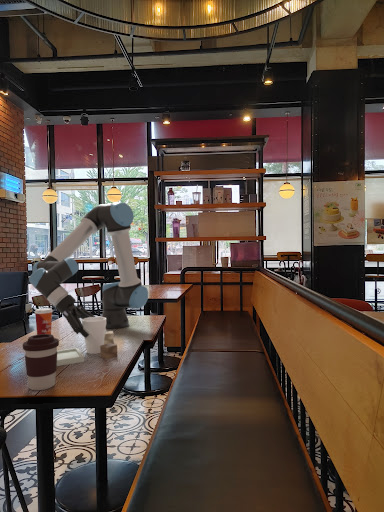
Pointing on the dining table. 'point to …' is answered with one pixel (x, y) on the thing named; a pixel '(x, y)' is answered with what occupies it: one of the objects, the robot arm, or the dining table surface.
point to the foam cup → (95, 332)
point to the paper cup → (43, 320)
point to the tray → (69, 356)
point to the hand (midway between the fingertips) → (100, 337)
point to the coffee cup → (41, 361)
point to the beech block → (109, 337)
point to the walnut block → (108, 351)
